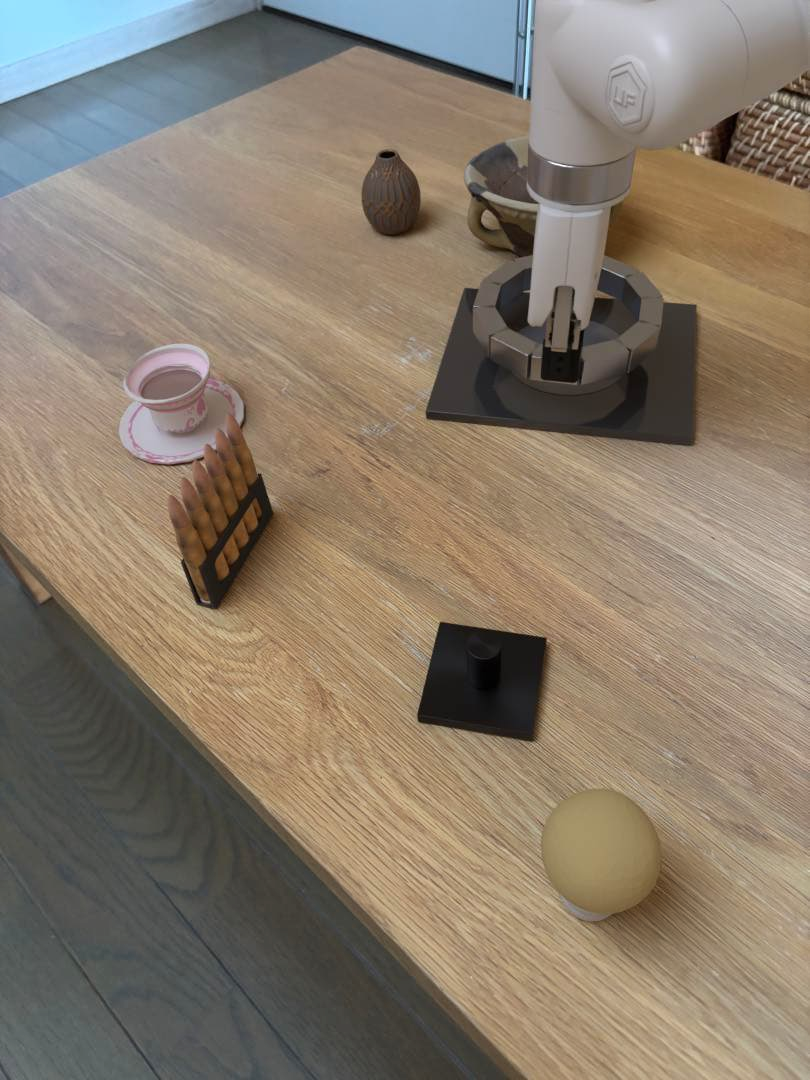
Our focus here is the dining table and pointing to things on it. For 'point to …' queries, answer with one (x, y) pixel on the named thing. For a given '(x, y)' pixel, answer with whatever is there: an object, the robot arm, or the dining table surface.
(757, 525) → the dining table surface
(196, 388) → the teacup
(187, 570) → the ammunition clip
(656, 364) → the hob plate
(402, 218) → the vase
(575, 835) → the light bulb
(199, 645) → the dining table surface
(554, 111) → the robot arm
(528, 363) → the steel ring
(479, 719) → the ring stand
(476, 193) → the bowl
